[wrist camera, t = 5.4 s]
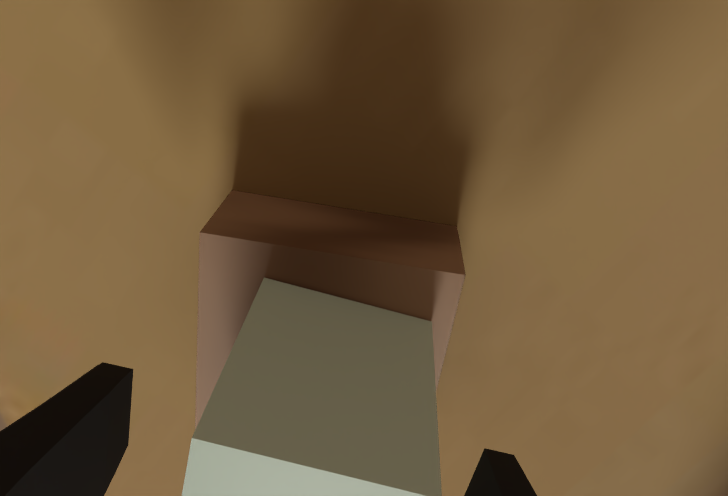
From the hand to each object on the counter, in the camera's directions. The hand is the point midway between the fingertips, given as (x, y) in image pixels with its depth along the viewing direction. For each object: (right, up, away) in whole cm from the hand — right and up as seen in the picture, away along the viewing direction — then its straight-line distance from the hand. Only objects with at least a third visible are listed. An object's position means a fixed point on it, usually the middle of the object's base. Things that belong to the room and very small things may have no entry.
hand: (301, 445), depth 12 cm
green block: (0, +1, +3) cm, 3 cm away
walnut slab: (0, +3, +5) cm, 6 cm away
